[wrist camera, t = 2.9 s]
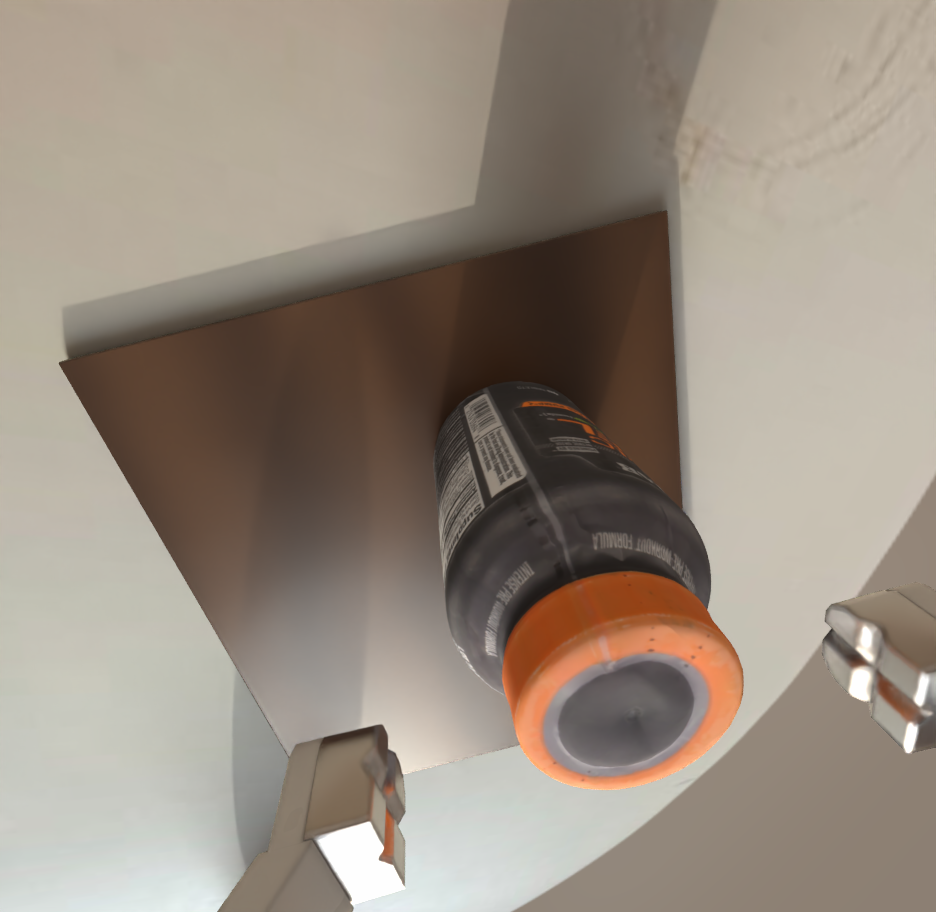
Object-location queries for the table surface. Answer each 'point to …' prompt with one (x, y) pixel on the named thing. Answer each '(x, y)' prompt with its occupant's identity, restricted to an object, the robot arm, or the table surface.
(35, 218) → the table surface
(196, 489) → the walnut mat
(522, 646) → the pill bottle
